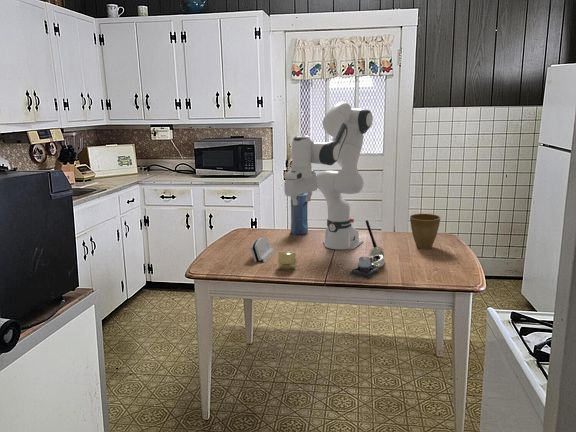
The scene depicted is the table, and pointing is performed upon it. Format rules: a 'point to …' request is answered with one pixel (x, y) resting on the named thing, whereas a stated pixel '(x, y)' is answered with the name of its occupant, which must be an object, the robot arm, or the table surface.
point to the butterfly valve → (375, 251)
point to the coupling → (364, 264)
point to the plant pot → (424, 229)
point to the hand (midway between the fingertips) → (301, 203)
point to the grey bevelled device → (261, 249)
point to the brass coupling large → (287, 260)
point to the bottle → (299, 215)
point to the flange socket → (364, 273)
